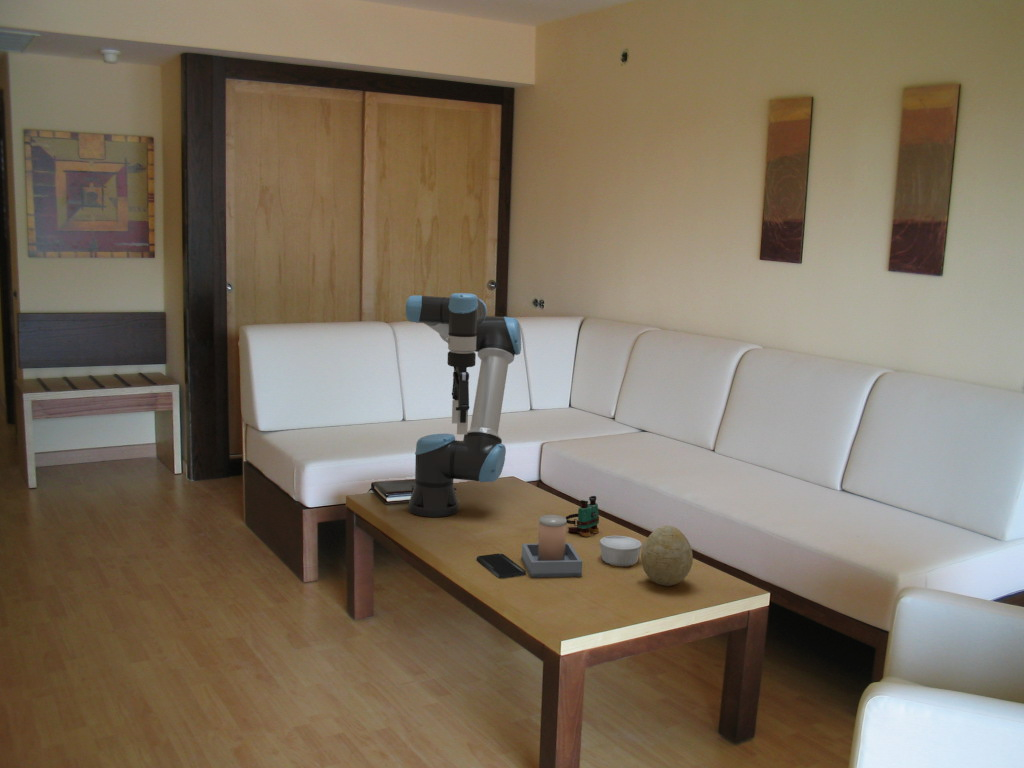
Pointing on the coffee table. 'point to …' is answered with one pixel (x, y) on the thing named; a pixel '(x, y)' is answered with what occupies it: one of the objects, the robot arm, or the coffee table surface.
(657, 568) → the fossilized egg
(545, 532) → the beige round cylinder
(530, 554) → the tray
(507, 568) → the phone
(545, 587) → the coffee table surface
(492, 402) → the robot arm
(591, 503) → the binoculars
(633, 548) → the ramekin
